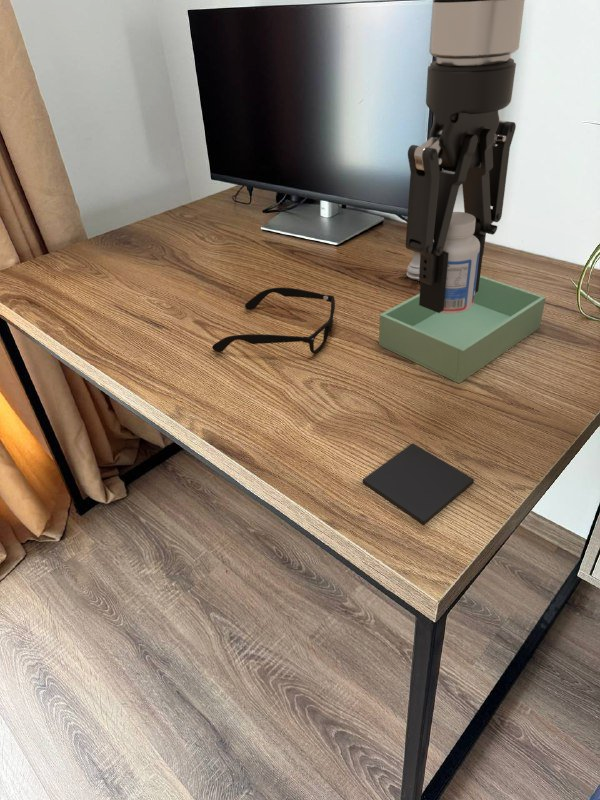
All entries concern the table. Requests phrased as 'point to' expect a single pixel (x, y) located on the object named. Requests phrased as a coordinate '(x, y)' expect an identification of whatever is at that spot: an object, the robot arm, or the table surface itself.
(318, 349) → the glasses
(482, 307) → the tote
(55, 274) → the table surface
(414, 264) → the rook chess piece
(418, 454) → the mat
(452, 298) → the pill bottle
